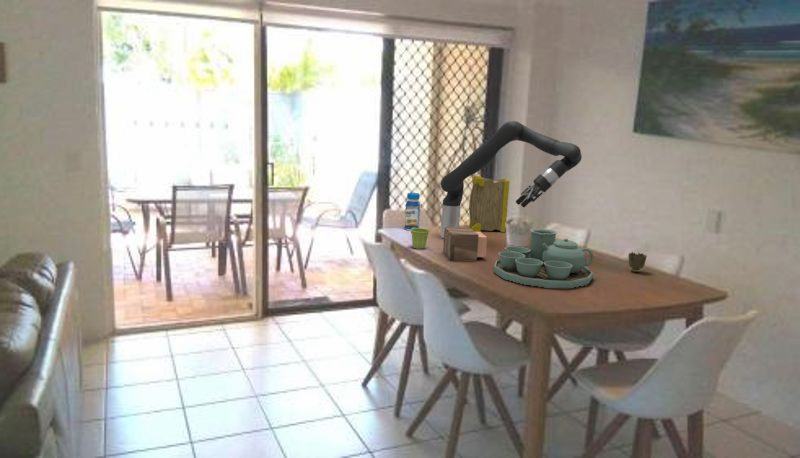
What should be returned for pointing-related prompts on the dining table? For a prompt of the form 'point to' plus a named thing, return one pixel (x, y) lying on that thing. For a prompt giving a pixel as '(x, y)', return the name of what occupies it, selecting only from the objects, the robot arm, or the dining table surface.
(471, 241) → the brown box with drawer
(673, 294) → the dining table surface
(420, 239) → the plant pot
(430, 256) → the dining table surface
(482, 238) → the salmon pink block
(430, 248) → the dining table surface
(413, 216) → the beverage bottle
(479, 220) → the decorative book
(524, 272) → the tea set
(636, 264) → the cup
